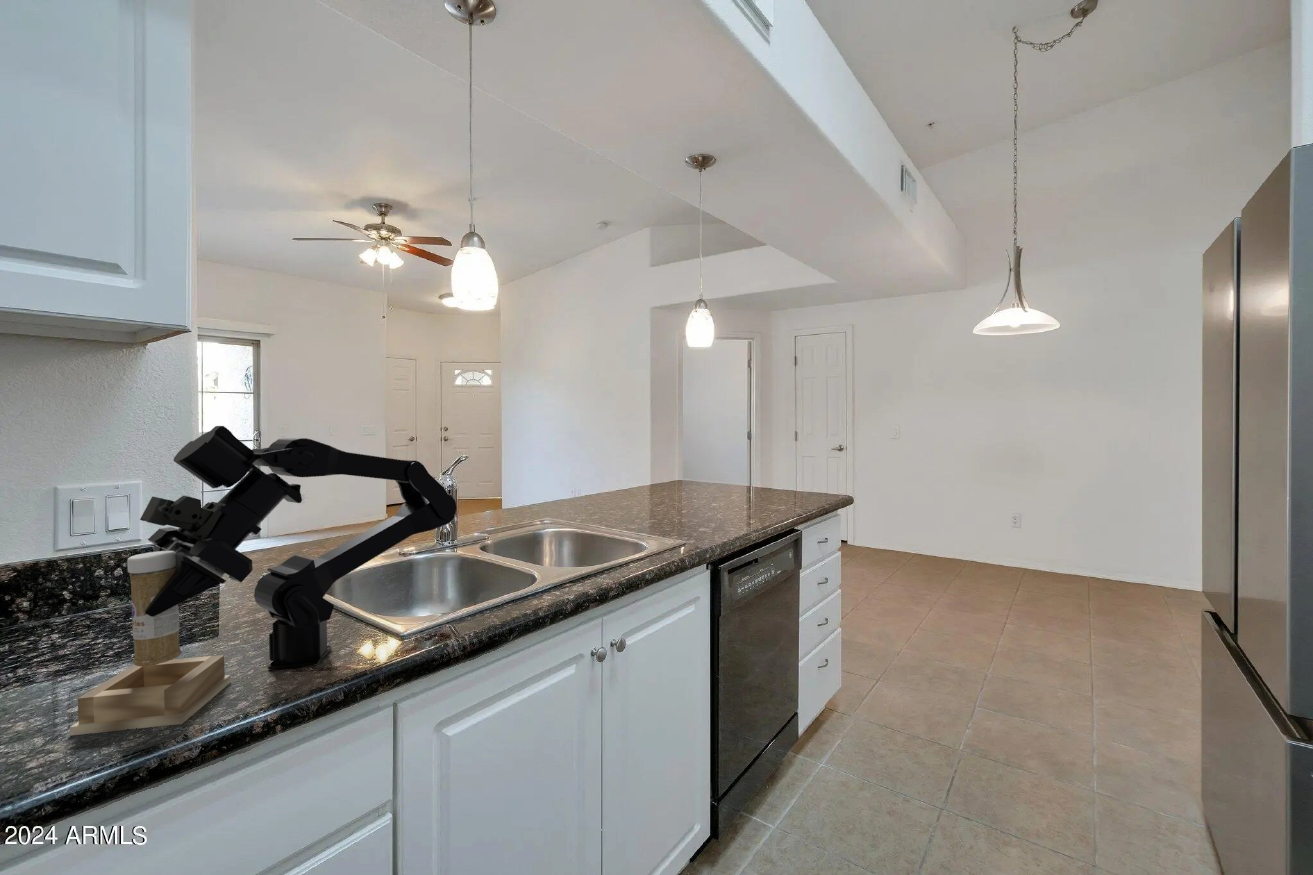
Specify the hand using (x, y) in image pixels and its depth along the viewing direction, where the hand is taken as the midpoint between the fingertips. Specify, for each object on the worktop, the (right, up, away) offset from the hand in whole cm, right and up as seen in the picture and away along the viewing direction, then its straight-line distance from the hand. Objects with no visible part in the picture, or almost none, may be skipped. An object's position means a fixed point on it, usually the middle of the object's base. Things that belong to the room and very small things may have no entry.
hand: (141, 611), depth 69 cm
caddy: (+1, -12, +1) cm, 12 cm away
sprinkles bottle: (+1, -7, +1) cm, 7 cm away
